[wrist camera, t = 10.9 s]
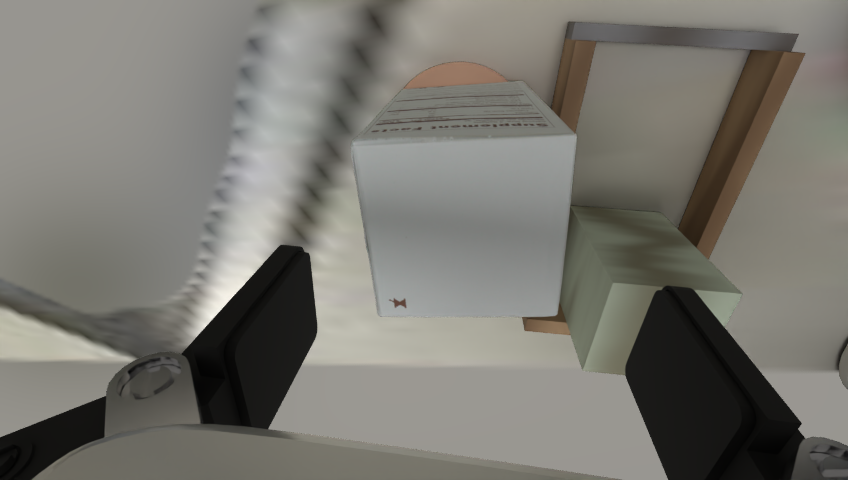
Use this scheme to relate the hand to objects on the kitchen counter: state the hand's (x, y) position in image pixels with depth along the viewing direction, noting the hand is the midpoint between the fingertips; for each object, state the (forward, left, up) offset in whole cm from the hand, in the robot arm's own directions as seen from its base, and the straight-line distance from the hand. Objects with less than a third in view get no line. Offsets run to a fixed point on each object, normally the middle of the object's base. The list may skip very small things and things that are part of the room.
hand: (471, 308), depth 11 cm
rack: (-10, +2, -17) cm, 20 cm away
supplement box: (0, 0, -16) cm, 16 cm away
